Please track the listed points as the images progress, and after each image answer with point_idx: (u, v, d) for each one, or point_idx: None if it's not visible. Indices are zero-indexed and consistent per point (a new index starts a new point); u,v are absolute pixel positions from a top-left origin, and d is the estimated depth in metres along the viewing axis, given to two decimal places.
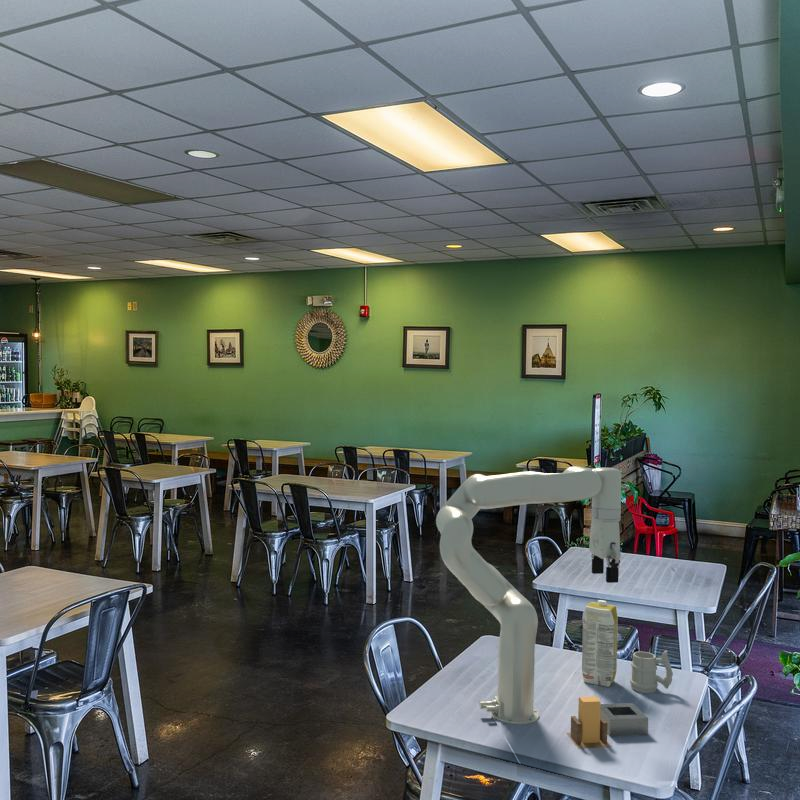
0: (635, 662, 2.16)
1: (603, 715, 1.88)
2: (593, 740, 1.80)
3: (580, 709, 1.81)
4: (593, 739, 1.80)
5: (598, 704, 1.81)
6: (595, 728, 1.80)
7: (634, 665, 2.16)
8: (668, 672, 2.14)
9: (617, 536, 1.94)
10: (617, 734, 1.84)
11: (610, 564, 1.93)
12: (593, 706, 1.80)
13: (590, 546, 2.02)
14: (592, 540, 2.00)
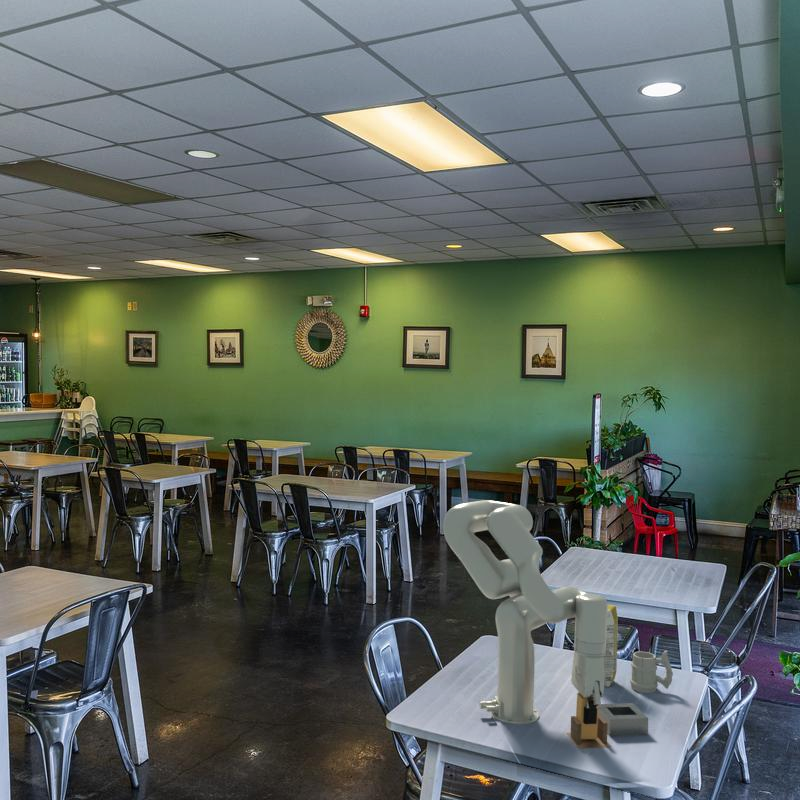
0: (635, 662, 2.16)
1: (603, 715, 1.88)
2: (590, 736, 1.81)
3: (579, 706, 1.82)
4: (590, 735, 1.81)
5: None
6: (593, 724, 1.81)
7: (634, 665, 2.16)
8: (668, 672, 2.14)
9: (601, 674, 1.77)
10: (617, 734, 1.84)
11: (588, 707, 1.79)
12: None
13: (572, 678, 1.85)
14: (574, 672, 1.84)
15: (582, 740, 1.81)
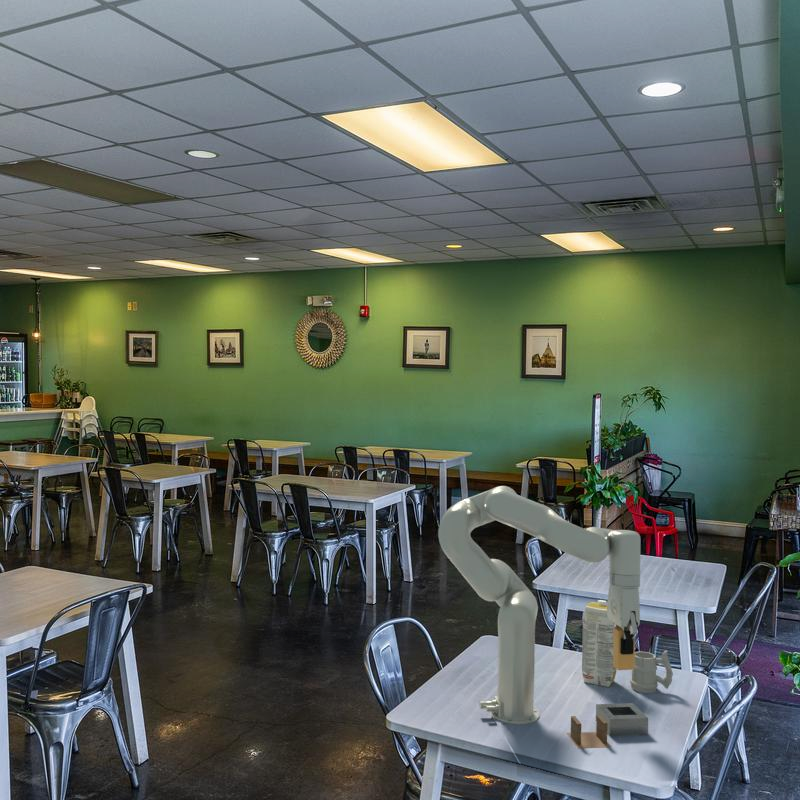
0: (635, 662, 2.16)
1: (603, 715, 1.88)
2: (628, 667, 1.88)
3: (615, 638, 1.89)
4: (628, 666, 1.88)
5: None
6: (630, 655, 1.88)
7: None
8: (668, 672, 2.14)
9: (637, 604, 1.84)
10: (617, 734, 1.84)
11: (625, 637, 1.86)
12: None
13: (608, 612, 1.92)
14: (610, 606, 1.91)
15: (582, 740, 1.81)
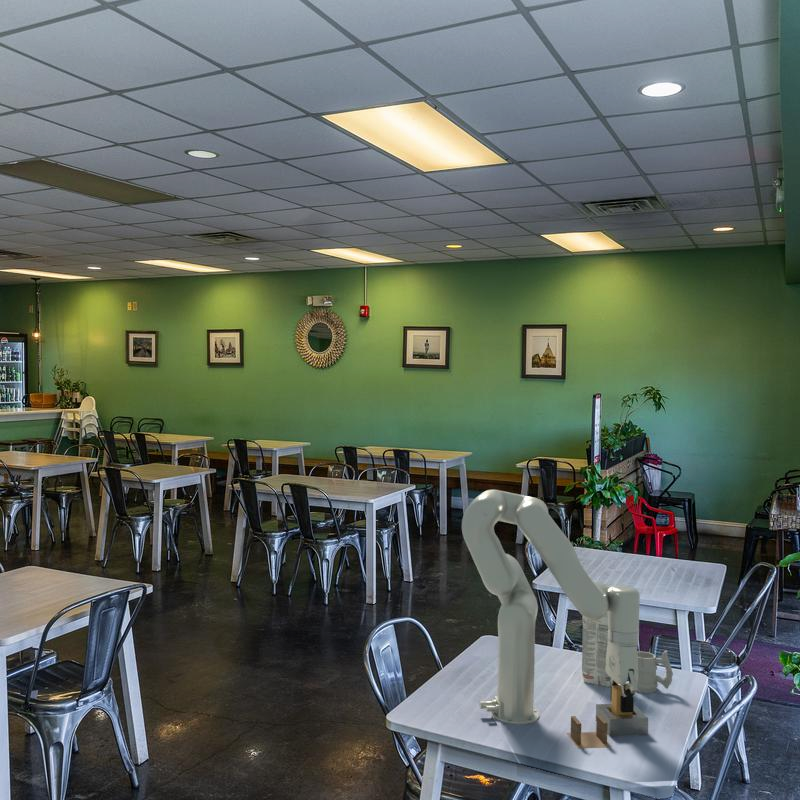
0: None
1: (603, 715, 1.88)
2: None
3: (614, 697, 1.89)
4: None
5: None
6: None
7: None
8: (668, 672, 2.14)
9: (635, 662, 1.84)
10: (617, 734, 1.84)
11: (625, 695, 1.85)
12: None
13: (606, 667, 1.92)
14: (608, 662, 1.91)
15: (582, 740, 1.81)
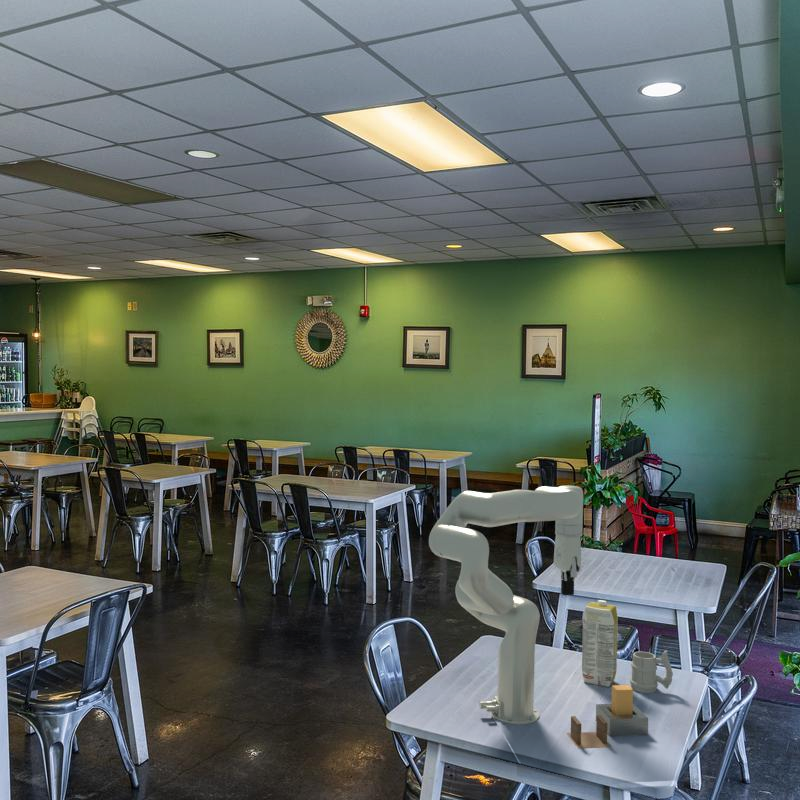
0: (635, 662, 2.16)
1: (603, 715, 1.88)
2: None
3: (614, 697, 1.89)
4: None
5: (631, 692, 1.88)
6: None
7: (634, 665, 2.16)
8: (668, 672, 2.14)
9: (578, 551, 2.05)
10: (617, 734, 1.84)
11: (566, 580, 2.08)
12: (626, 694, 1.88)
13: (554, 560, 2.13)
14: (556, 554, 2.12)
15: (582, 740, 1.81)
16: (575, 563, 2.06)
